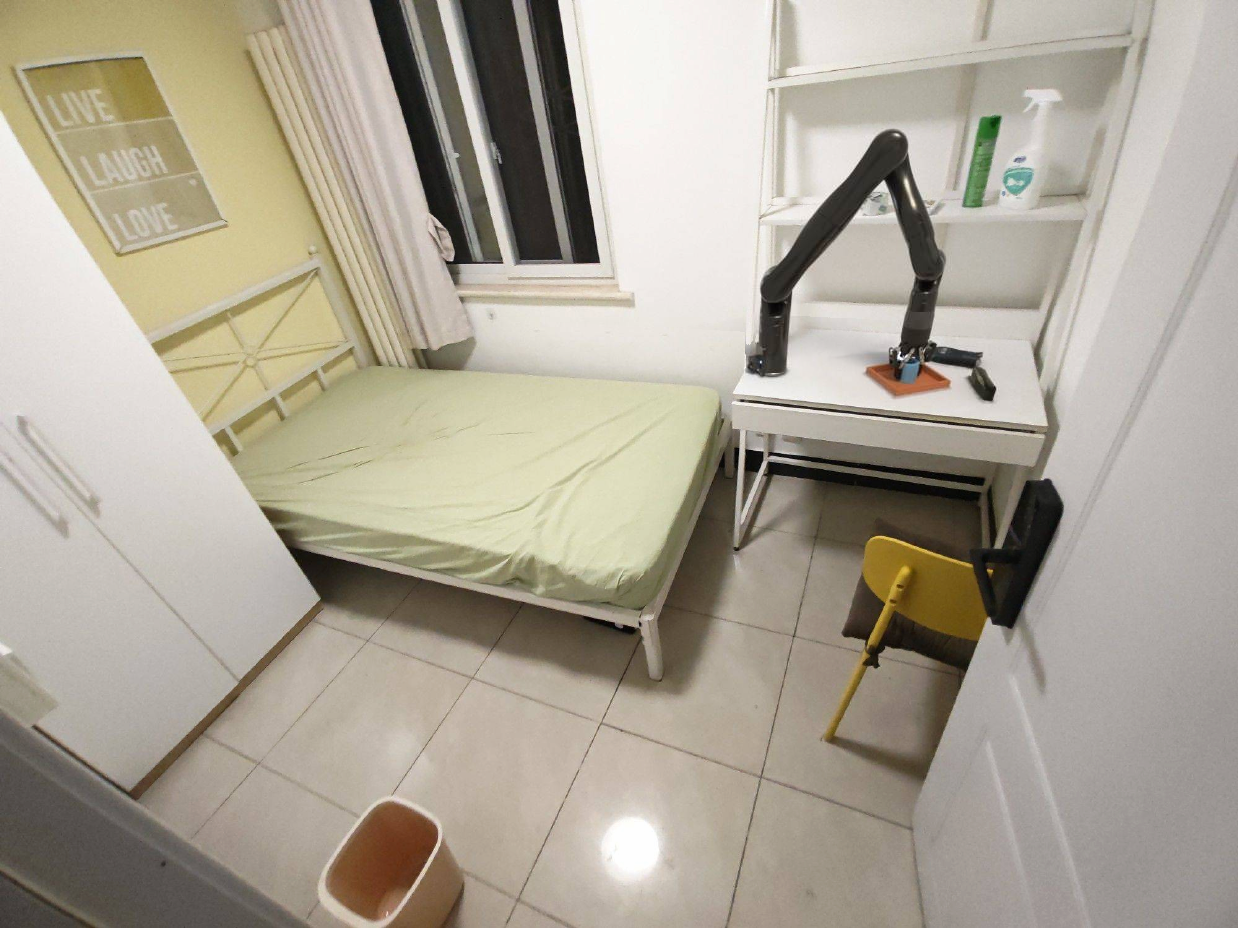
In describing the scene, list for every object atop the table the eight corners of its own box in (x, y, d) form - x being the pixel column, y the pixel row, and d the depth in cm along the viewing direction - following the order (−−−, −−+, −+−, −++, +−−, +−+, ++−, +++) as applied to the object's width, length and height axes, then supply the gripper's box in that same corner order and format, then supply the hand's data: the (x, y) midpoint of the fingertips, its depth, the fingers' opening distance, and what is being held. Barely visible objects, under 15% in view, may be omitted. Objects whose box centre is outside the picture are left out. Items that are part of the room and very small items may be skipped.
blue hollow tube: (903, 384, 167) (906, 366, 163) (893, 377, 171) (896, 359, 168) (919, 381, 167) (923, 363, 164) (909, 374, 171) (912, 356, 168)
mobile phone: (999, 387, 152) (980, 362, 163) (987, 387, 152) (969, 362, 164) (994, 403, 155) (976, 377, 166) (982, 403, 155) (964, 377, 167)
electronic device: (979, 362, 177) (929, 348, 183) (987, 347, 173) (935, 334, 179) (972, 378, 172) (921, 363, 178) (979, 363, 168) (927, 348, 175)
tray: (895, 397, 162) (897, 390, 161) (865, 373, 176) (866, 366, 174) (949, 388, 163) (951, 380, 162) (915, 365, 177) (916, 358, 175)
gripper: (933, 315, 163) (921, 368, 172) (886, 323, 162) (877, 376, 171) (949, 324, 157) (936, 378, 166) (901, 332, 155) (891, 386, 165)
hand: (906, 377), depth 169 cm, fingers closed on blue hollow tube, 5 cm apart
